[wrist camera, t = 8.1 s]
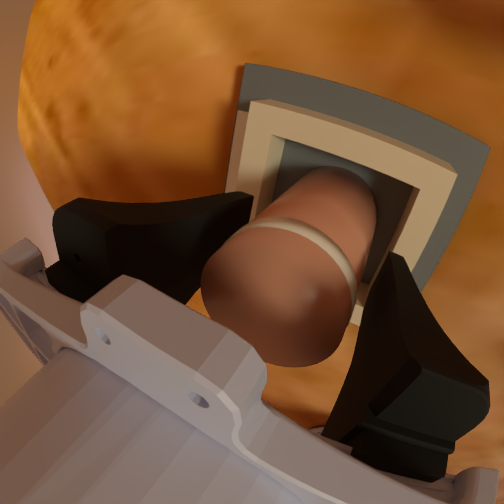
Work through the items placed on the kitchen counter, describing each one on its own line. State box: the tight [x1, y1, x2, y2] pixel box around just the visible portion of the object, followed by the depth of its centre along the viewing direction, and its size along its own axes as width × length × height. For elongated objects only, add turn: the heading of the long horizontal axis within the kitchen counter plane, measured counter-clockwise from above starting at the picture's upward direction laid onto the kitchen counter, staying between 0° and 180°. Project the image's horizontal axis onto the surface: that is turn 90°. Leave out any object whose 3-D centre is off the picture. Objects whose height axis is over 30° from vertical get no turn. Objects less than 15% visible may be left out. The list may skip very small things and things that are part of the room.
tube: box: [201, 166, 378, 367], centre depth 12 cm, size 4×4×8 cm
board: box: [224, 63, 491, 326], centre depth 14 cm, size 12×12×3 cm
